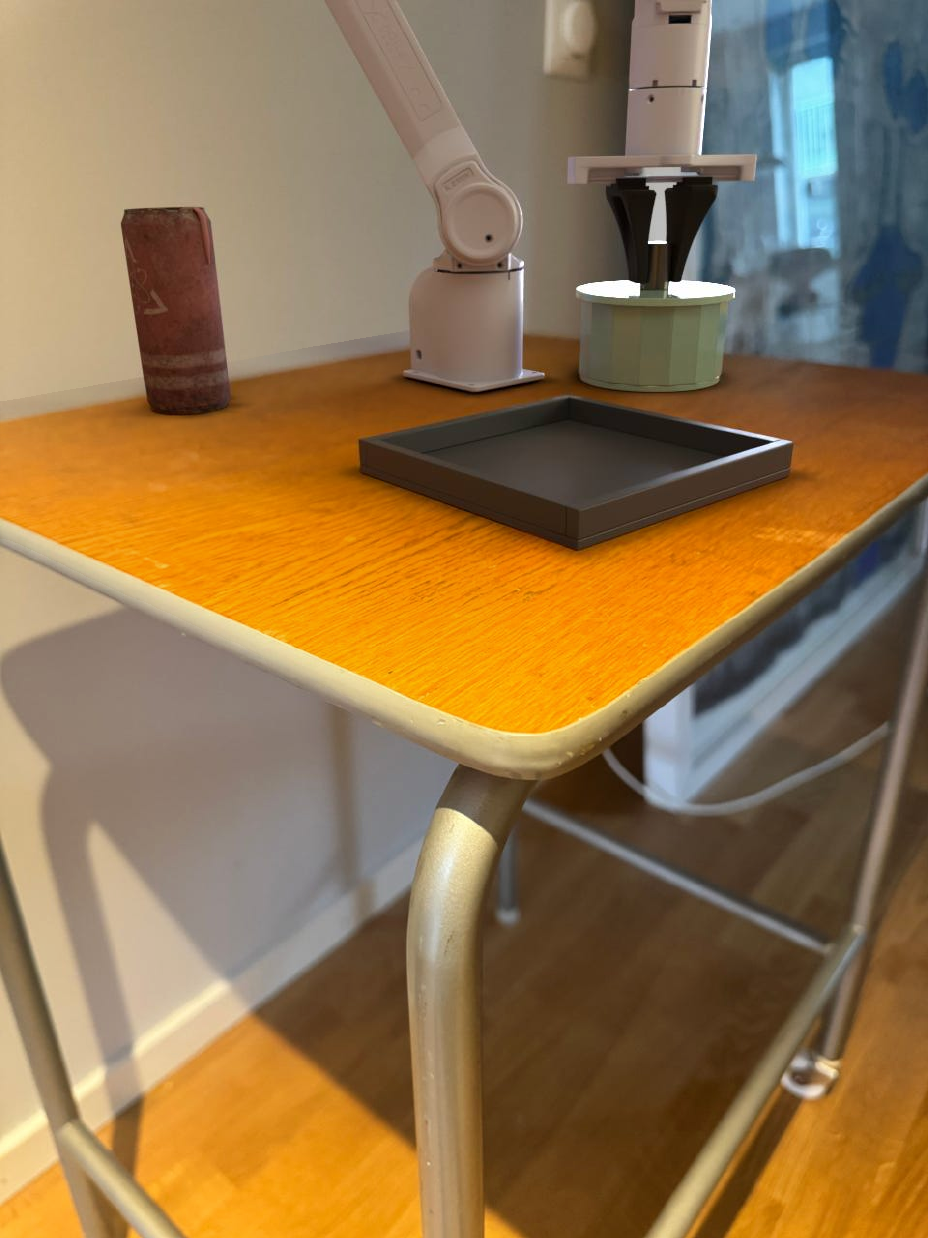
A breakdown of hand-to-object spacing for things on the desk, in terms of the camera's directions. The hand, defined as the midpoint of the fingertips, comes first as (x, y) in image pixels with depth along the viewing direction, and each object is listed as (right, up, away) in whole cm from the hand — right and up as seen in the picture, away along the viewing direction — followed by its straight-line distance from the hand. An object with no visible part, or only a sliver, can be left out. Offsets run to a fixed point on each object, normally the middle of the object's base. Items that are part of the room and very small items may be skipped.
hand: (654, 281), depth 79 cm
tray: (-9, -19, -22) cm, 30 cm away
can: (-36, -11, -4) cm, 38 cm away
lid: (0, -1, 0) cm, 1 cm away
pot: (0, -7, +3) cm, 8 cm away
